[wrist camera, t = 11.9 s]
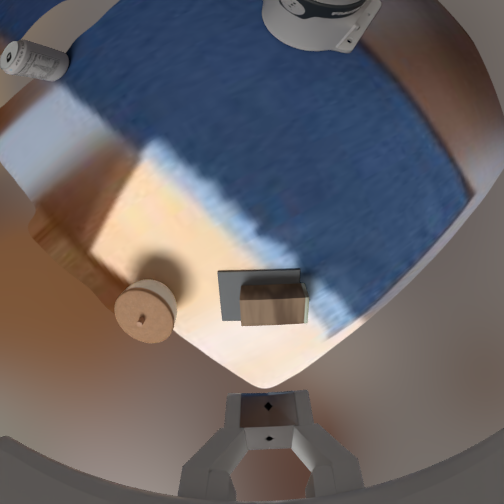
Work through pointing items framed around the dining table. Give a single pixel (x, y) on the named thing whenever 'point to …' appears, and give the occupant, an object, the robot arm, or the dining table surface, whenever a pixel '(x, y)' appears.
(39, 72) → the energy drink can
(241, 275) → the felt mat
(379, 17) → the dining table surface
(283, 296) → the walnut block
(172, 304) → the lidded jar
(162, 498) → the robot arm
